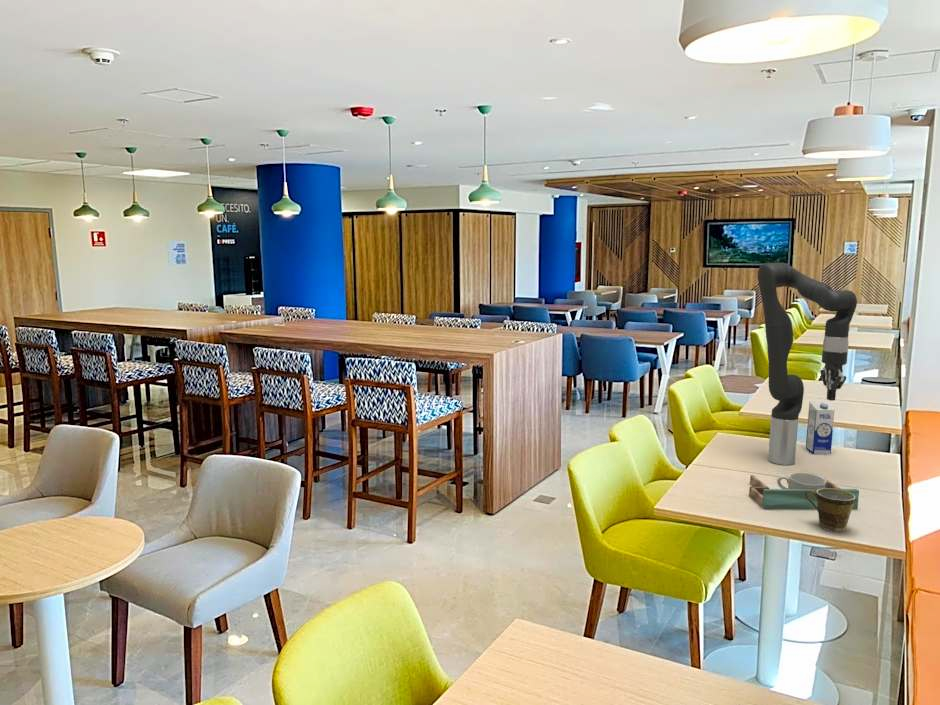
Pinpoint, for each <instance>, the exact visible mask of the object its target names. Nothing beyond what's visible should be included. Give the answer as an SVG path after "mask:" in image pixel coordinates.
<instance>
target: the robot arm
mask: <svg viewBox="0 0 940 705" xmlns="http://www.w3.org/2000/svg"><path fill="white" fill-rule="evenodd" d="M757 283H758V288H759V292H760V293H759V294H760V296H761V301H762V309H763V316H764V328H765V337H766V338H765V339H766V347H767V356H768V357H767V358H768V391H769V394H770V396H771V397H772V398H773V399H774V400H776V401H778V403H777V404H776V405H775V406H774V407H773V408H772V409H771V416H770V418H771V419H770V430H769V432H770V433H769V439H768V440H769V443H768V453H767V455H768V456H767V460H768V461H769V462H770V463H773V464H776V465H783V466H784V465H785V466H790V465H795V462H796V454H797V453H796V451H797V439H798V430H799V429H798V426H799V417H800V416H799V415H800V413H801V412H802V407H803V400H804V394H805V393H804V392H805V388H804V383H803V380H802V379H801V377H800V376H798V375H797V374H788V359H789V354H790V351H791V349H792V346H793V343H794V342H793V341H794V332H793V330H794V329H793V322H792V320H791V316H789V314H788V313H787V311H786V310H785V308H784V307H783V306H782V304H781V302H780V301H779V297H778V293H777V288H783V287H786V288H787V287H788V288H791V289H795V290H796V291H797V292H798V294H799V295H800V296H801V297H803V298H805V299H807V300H808V301H812V302H813V303H816V304H817V305H818V306H819V307H820V308H822V309H823V310H825V311H828V312H835V315H834V316H833V317H831V318H829V319H827V320H826V321H825V326H824V338H823V344H822V353H821V363H823V364H825V365H824V369H821V370H820V372H819V373H820V376H821V378H822V379H821V380H822V383H823V386H825V388H826V400H828V401H831V402H832V401H836V396H837V394H836V393H837V390H841V389H842V386H844V384H845V382H846V380H847V376H846V375H843V373H844V370H843V366H846V364H848V355H849V354H848V353H849V331H850V324H851V321H852V320H853V316H854V314H855V311H856V309H857V305H858V300H857V296H856V294H855V293H854V292H853V290H849V289H846V290H845V289H840V290H838V289H836V290H834V289H832V287H831V285H829V284H827V283H825V282H821V281H820V280H817V279H814V278H811V277H809V276H807V275H805V274H803V273H802V272H800V271H799V270H798V269H796V268H795V267H793V266H791V265H790V264H788V263H786V262H767V263H763V264H761V265H760V266H759V268H758V271H757Z"/></svg>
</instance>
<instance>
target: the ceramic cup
mask: <svg viewBox="0 0 940 705" xmlns="http://www.w3.org/2000/svg"><path fill="white" fill-rule="evenodd" d="M809 492H810V493H812V494H813V495H815V497H816V499H817V506H818V507H816V506H815V504H814V503H813V502H812V501H811V500H810V499H809V498H808V497H807V493H809ZM805 496H806V498H807V499H808V500H809V501H810V502H811V503H812V504H813V506H814V507H815V508H816V509H815V510H816V511H817V513H818V514H817V515H818V522H819V526H820V527H821V526H822V527H821V528H823V529H824V528H825V529H824V530H827V529H829V530H828V531H831V530H832V531H831V532H845V531H846V529H847V526H848V523H849V520H850V516H851V513H852V511H853V509H852V508H853V505H854V502H855V496H854V495H853V494H851V493H849V492H847V491H843V490H839V489H832V488H822V489H818V490H817V491H816V492H814V491H807V492H806V494H805Z"/></svg>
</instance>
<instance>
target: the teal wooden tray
mask: <svg viewBox="0 0 940 705" xmlns="http://www.w3.org/2000/svg"><path fill="white" fill-rule="evenodd" d="M823 478H824V479H825V480H826V485H825V488H832V489H839V490H843V491H847V492H849V493H851V494H853V495H854V496H855V502H854V505H853V508H852V510H858V507H859V499H860V498H859V497H860V490H859V489H857V488H840V487H838V486H837V485H836V484H834V483H833V482H831V481H830V480H828V479H827V478H825V477H823ZM749 484H750V485H751V486H749V489H748V490H749V492H748V496H749V497H750V498H751V499H752V500H753V501H754V502H756V504H758V505H759V507H761V508H762V507H763V508H764V509H763V508H762V509H763V510H817V509H816V508H815V507H814V506H813V504H812V503H811V502H810V501H809V500H808V499H807V498H806V496H805V494H806V492H807V491H814V492H816V491H817V490H818V489H782V488H770V487H768V486H767V485H766V484H765V483H763V481H761V480H760V479H759V478H757V477H756V476H755V475H754V474H751V475H750V480H749ZM807 497H808V498H809V499H810V500H811V501H812V502H813V503H814V504H815V506H816V507H818V506H817V499H816V497H815V495H813V494H812V493H810V492H809V493H807Z"/></svg>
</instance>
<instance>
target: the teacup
mask: <svg viewBox="0 0 940 705" xmlns="http://www.w3.org/2000/svg"><path fill="white" fill-rule="evenodd" d="M824 478H825V477H822V476H821V475H818V474H816V473H815V474H814V473H812V472H811V473H810V472H804V471H795V472H791V473H790V474H789V476H787V475H783V474H782V475H779V477H777V479H776V483H777V485H778V487H779V489H822V488H825V485H826V480H825V479H826V478H825V479H824ZM782 480H786V483H787V486H788V487H786V486H784V485H783V484H782V483H781V481H782Z"/></svg>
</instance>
